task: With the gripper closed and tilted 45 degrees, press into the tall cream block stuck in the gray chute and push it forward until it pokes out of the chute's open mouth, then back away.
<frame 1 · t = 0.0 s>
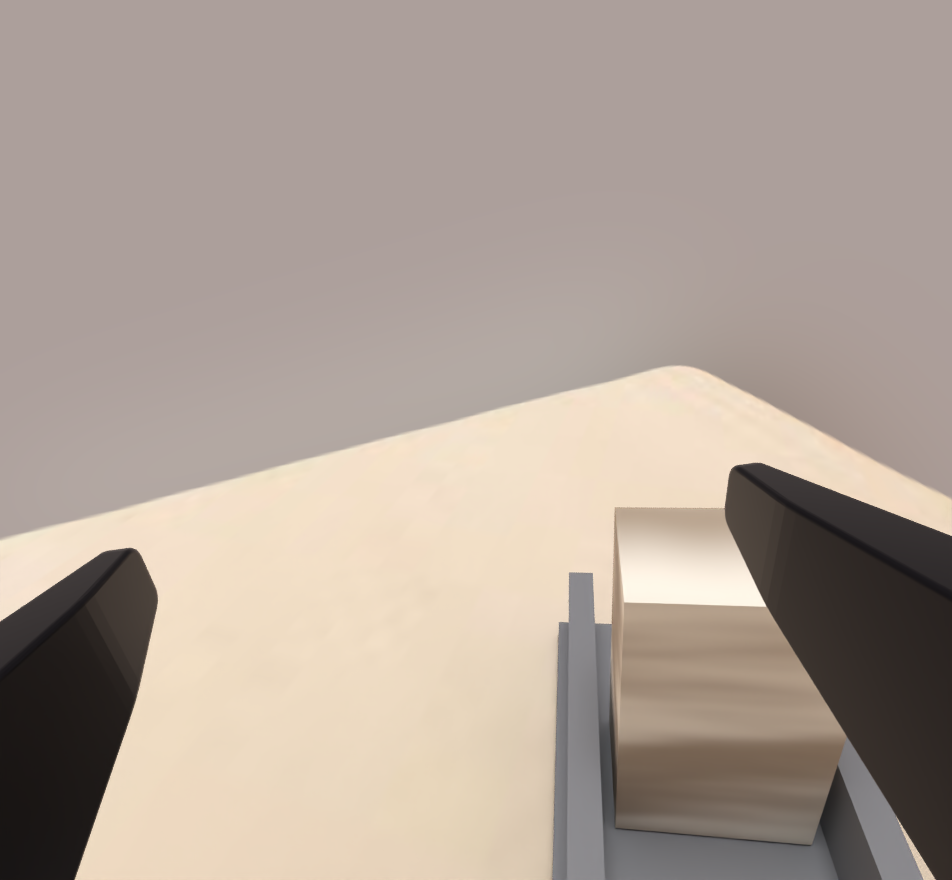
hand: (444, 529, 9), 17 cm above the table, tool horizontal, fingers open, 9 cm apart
gray chute: (697, 791, 22), on the table
cream block: (714, 678, 19), point 6 cm above the table, slide at 0.0 cm
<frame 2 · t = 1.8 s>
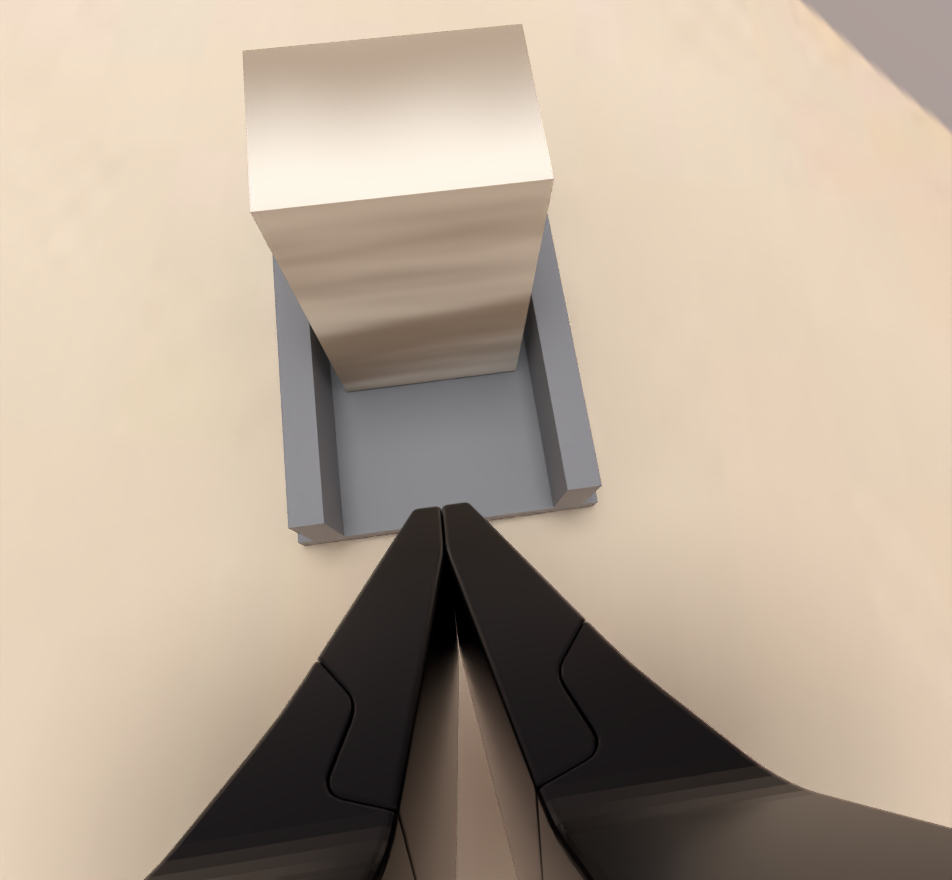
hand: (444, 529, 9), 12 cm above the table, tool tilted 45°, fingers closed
gray chute: (426, 340, 23), on the table
cream block: (413, 251, 18), point 6 cm above the table, slide at 0.0 cm
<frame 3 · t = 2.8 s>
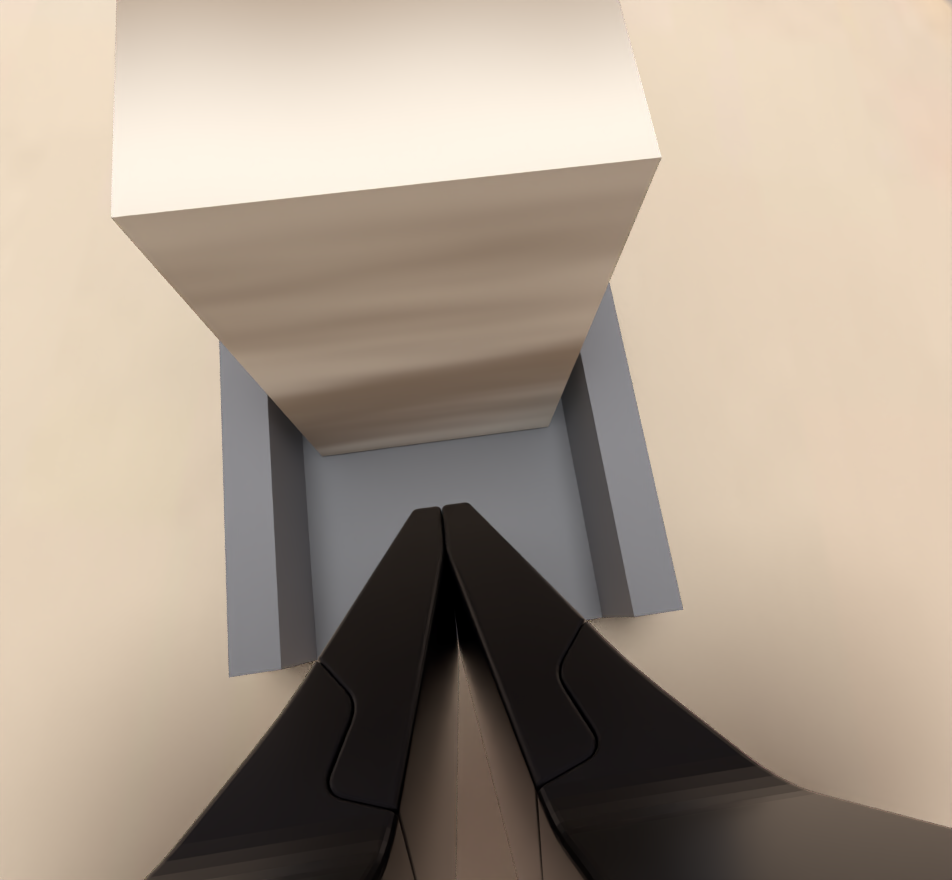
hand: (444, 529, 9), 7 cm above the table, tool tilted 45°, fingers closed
gray chute: (429, 383, 18), on the table
cream block: (411, 272, 12), point 6 cm above the table, slide at 0.0 cm
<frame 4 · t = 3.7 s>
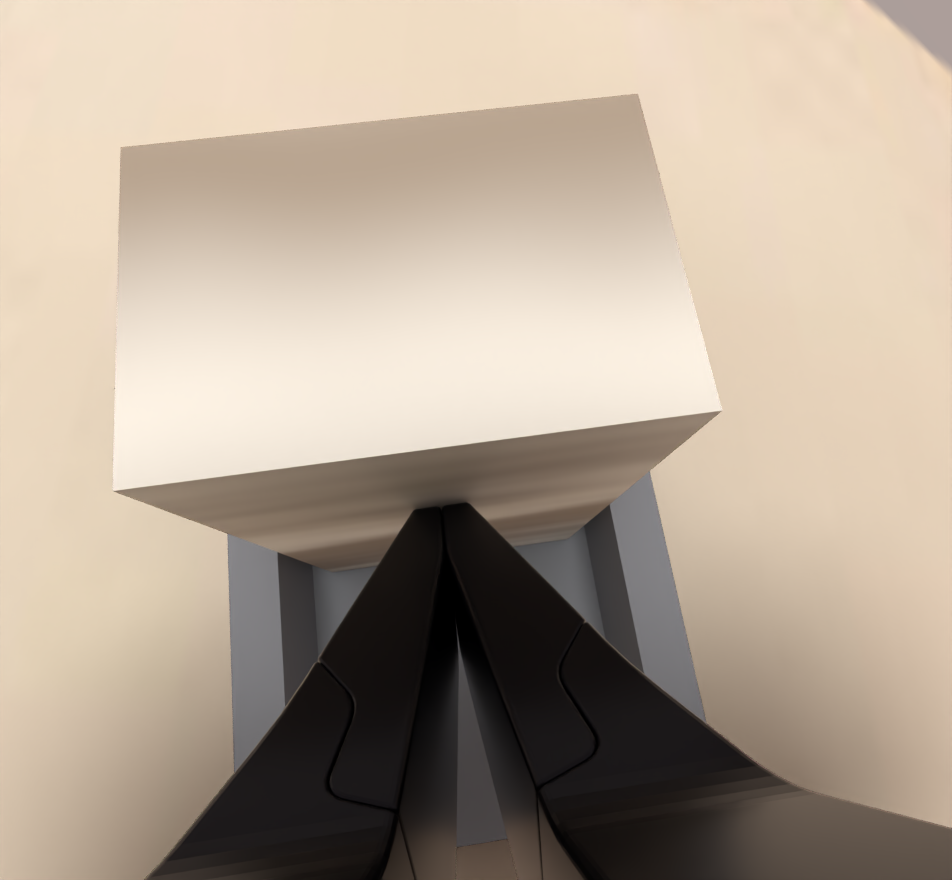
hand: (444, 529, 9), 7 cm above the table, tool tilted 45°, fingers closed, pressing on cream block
gray chute: (449, 537, 17), on the table
cream block: (430, 418, 11), point 6 cm above the table, slide at 1.4 cm, touching gripper
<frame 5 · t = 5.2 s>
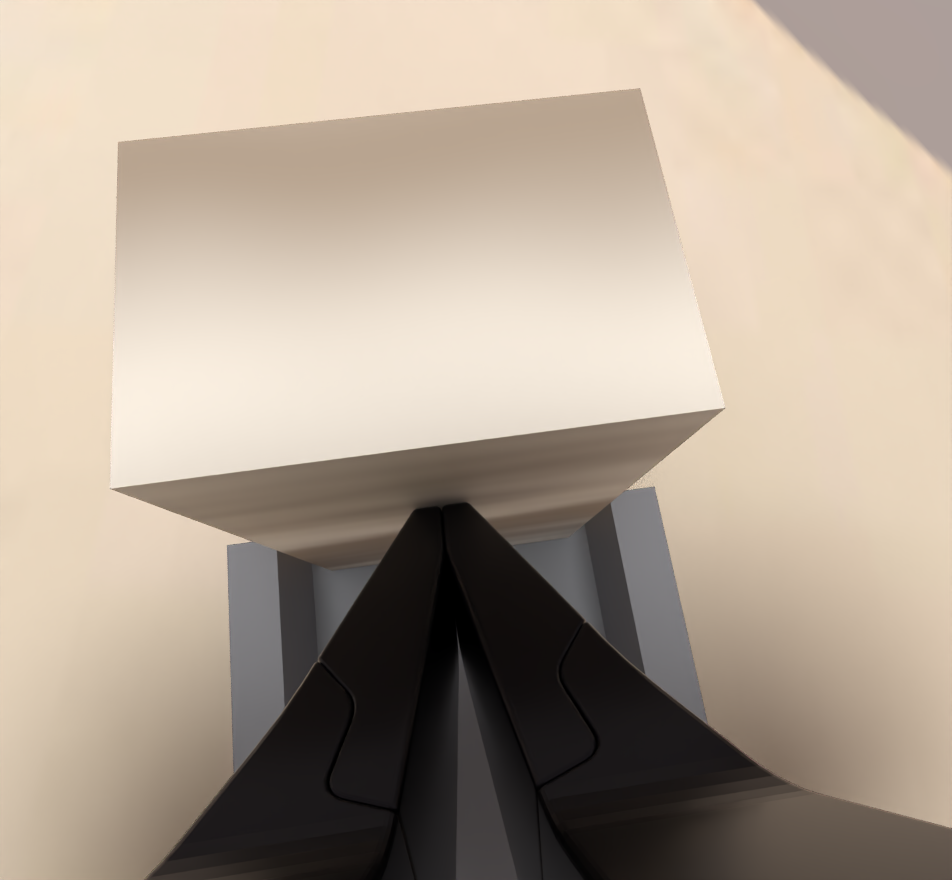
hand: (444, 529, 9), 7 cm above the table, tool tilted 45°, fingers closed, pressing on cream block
gray chute: (487, 832, 15), on the table
cream block: (430, 416, 11), point 6 cm above the table, slide at 8.5 cm, touching gripper
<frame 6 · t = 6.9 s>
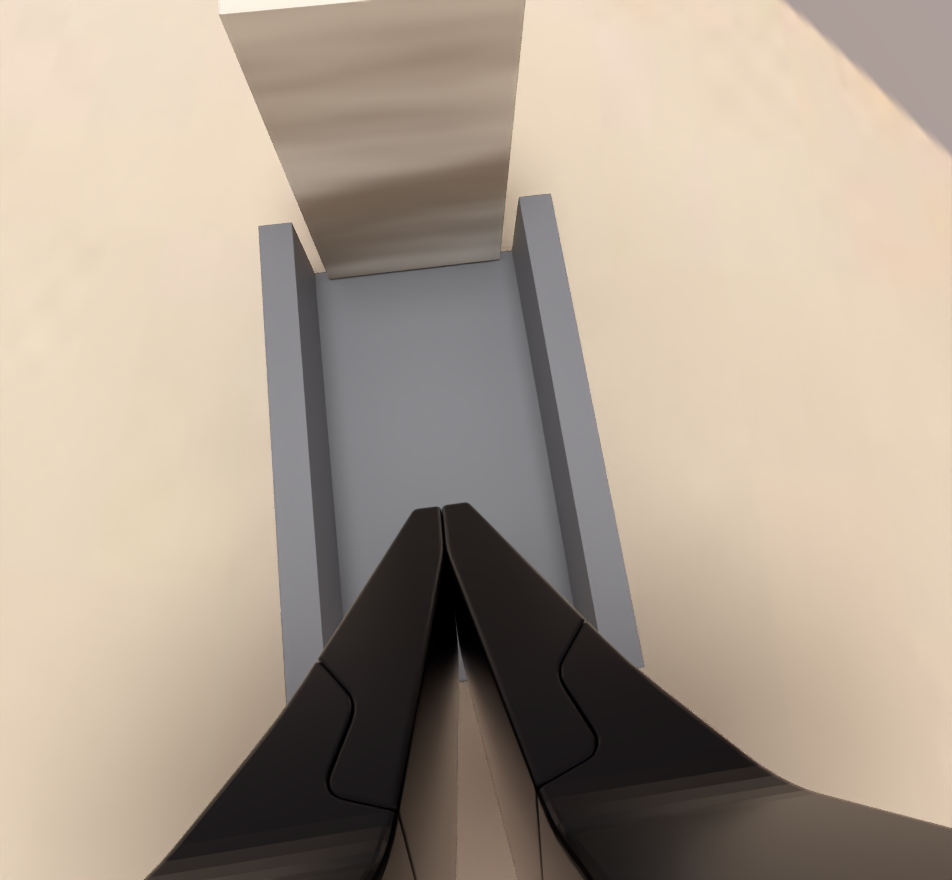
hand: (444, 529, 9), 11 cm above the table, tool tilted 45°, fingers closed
gray chute: (439, 458, 21), on the table
cream block: (392, 112, 17), point 6 cm above the table, slide at 8.7 cm
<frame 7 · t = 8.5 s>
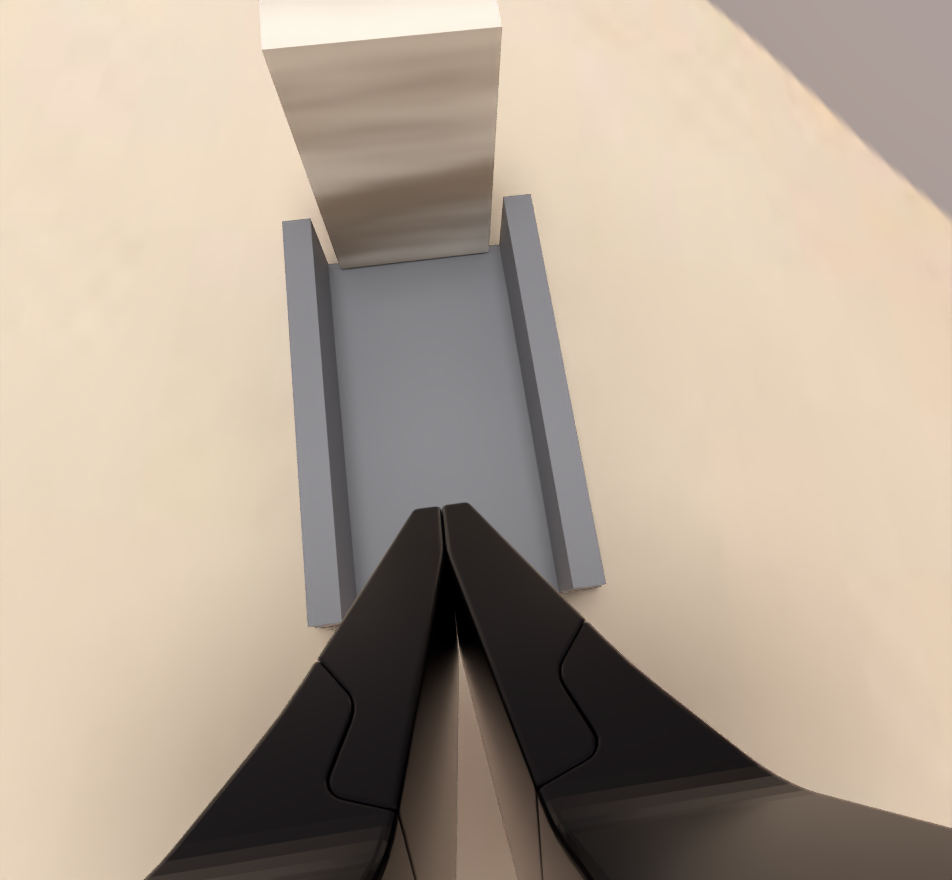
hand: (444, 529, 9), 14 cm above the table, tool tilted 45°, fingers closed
gray chute: (436, 422, 24), on the table
cream block: (396, 125, 21), point 6 cm above the table, slide at 8.7 cm
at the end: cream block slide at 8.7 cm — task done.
